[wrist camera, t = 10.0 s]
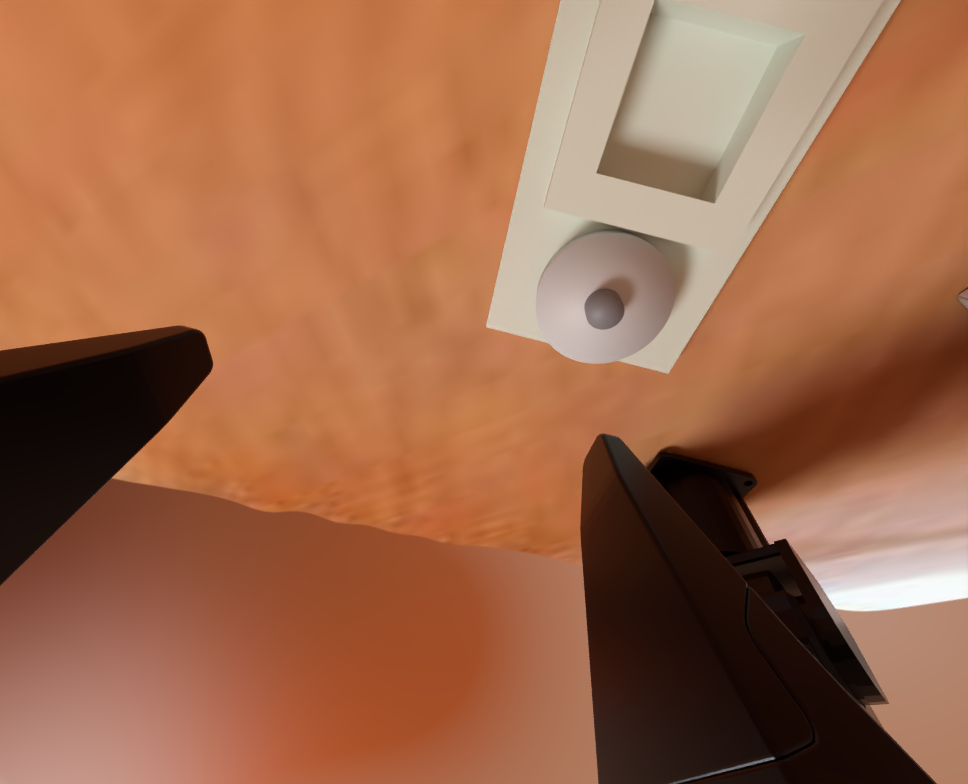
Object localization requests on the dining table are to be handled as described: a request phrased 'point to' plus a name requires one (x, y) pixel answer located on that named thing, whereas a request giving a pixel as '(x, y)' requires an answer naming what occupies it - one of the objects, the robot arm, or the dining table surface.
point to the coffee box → (964, 298)
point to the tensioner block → (663, 161)
